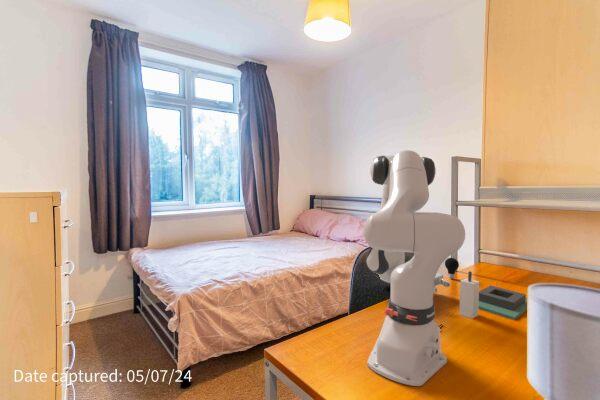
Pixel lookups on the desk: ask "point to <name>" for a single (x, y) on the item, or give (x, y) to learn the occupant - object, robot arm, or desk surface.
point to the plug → (469, 297)
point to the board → (503, 311)
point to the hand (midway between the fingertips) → (442, 287)
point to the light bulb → (451, 266)
